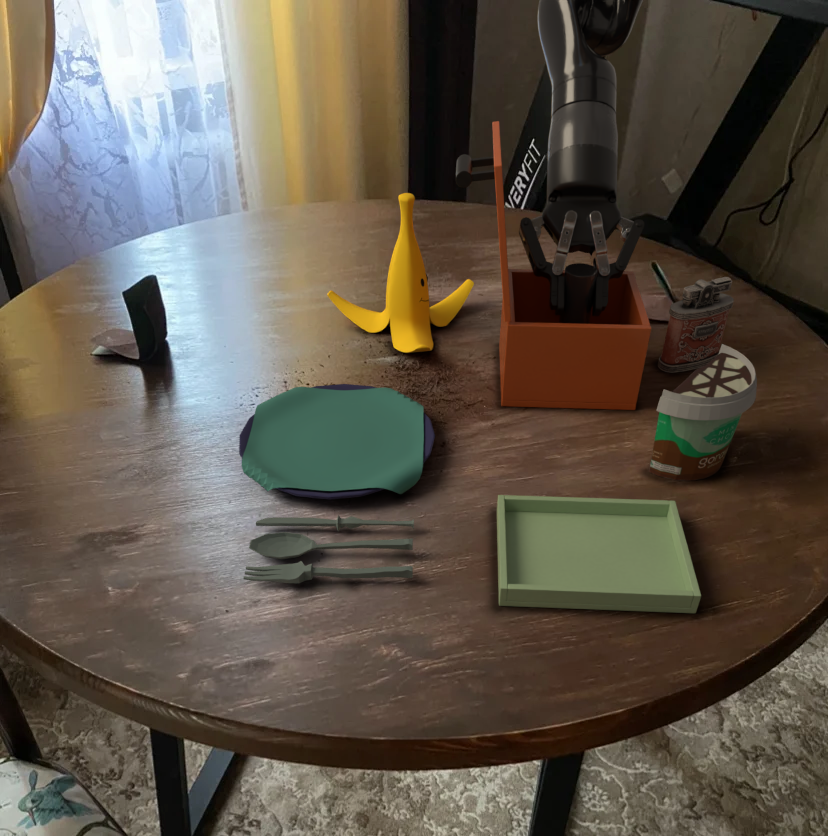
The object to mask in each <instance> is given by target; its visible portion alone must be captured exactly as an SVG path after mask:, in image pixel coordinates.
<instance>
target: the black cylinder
mask: <svg viewBox="0 0 828 836" xmlns="http://www.w3.org/2000/svg"><path fill="white" fill-rule="evenodd" d="M564 270H565V274H564V276H565V289H564V311H563V314H562V315H560V317H559V323H574V324H590V318H591V311H592V304H593V297H594V290H595V283H596V276H597V269H596V268H595V267H594V266H592V264H588V263H582V262H575V263H570V264H568V265H567V266H565V267H564Z"/></svg>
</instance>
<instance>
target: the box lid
mask: <svg viewBox="0 0 828 836" xmlns="http://www.w3.org/2000/svg"><path fill="white" fill-rule="evenodd" d="M500 125H501V124H500V121H499V120H497V121H492V146H493V155H489V156H483V157H475V158H474V157H473V158H472V157H471V155H469V154H465V153H463V154H460V155H458V156H459V157H457V159H456V167H455V183H456V185H457V186H458V187H460V188H462V189H465V188H468V187H470V186H471V185H472V182H480V181H481V182H483V181H489V180H494V184H495V201H496V215H497V230H498V247H499V262H500V277H501V278H500V279H501V291H502V299H503V308H504V321H505V322H506V321H511V308H510V292H509V275H508V269H509V262H508V261H509V259H508V245H507V244H508V243H507V227H506V212H505V209H506V208H505V194H504V178H503V162H502V161H503V160H502V143H501V126H500ZM490 166H491V167H492V166H493V168H494V169H487V170H478V171H473V168H480V167H490Z"/></svg>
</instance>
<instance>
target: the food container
mask: <svg viewBox="0 0 828 836" xmlns="http://www.w3.org/2000/svg"><path fill="white" fill-rule="evenodd" d="M719 350H720V352H719V354H718V355H717V356H716V357H715V358H714V359H713V360H711V361H710V362H709V363H707V364H706V365H704V366H702V367H700V368H697V369H694V371H693V372H692V373H691V374H689V375H688V376H687V377H686V378H685V379H684V381H682V382H681V383H680V384H679V385H678V386H676V388H674V389H673V390H672V391H670V390H667V389H666V388H665V389H662V390H663V391H662V393H661V396H660V398H659V401H658V404H657V407H656V412H658V417H657V423H656V429H655V435H654V441H653V446H652V451H651V459H650V463H649V469H648V473H649V474H651V475H654V476H657V477H658V478H659V477H660V478H664V479H669V480H674V481H688V482H689V481H690V482H692V481H696V480H703V479H706V478H709V477H711V476H713V475H714V474H716V473H717V472H718V471H720V469H721V467H722V465H723V463H724V460H725V457H726V455H727V452H728V450H729V448H730V445H731V443H732V440H733V437H734V435H735V433H736V430H737V428H738V425H739V423H740V420H741V417H742V415H743V413H745V412H746V411H747V410H749V409H750V408H751V407H752V406H753V404H754V403H755V401H756V399H757V386H758V378H757V374H756V369H755V366H754V365H753V362H751V361H750V360H749V358H747V356H745V355H744V354H743V353H741V352H740V351H738V350H736V349H735V348H733V347H731V346H728V345H726V344H723V343H721V344H720V348H719Z"/></svg>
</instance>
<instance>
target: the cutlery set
mask: <svg viewBox="0 0 828 836" xmlns="http://www.w3.org/2000/svg"><path fill="white" fill-rule="evenodd" d="M435 438H436V434H435V431H434V427H433V423H432V420H431V418H430V417H429V416H428V415H427V414H426V412H425V411H424V405H422V404H421V403H420V402H418V401H416V400H414V399H412V398H410V397H408V396H407V395H405V394H403V393H401V392H400V391H398V390H395V389H394V388H391V387H376V386H372V385H364V384H363V385H361V384H350V383H339V384H338V383H337V384H326V385H316V386H312V387H310V386H296V387H293V388H289V390H286V391H284V392H281V393H279V394H276V395H275V396H272V397H270V398H269V399H267V400H265V401H263V402H261V403H259V404H257V405H256V407H255V411H254V414H253V415H251V416H250V417H249V418H248V420H247V421H246V423H245V425H244V426H243V428H242V430H241V432H240V434H239V441H238V442H239V444H238V451H239V452H238V454H239V456H240V458H241V469H242V472H243V474H244V475H245V476H246V477H248V478H249V479H252V480H253V481H254V482H256V483H257V484H258V485H260V486H261V487H263V489H264V490H265V491H266V492H269V491H270V490H273V489H275V490H278V491H280V492H283V493H286V494H290V495H292V496H295V497H301V498H309V499H311V498H312V499H321V500H338V499H339V500H340V499H348V498H359V497H364V496H368V495H370V494H371V495H372V494H375V493H377V492H380V491H384V490H388V491H391V492H394V493H397V494H398V495H403V494H405V493H406V492H407V491H409V490H410V489H412V488H413V487H414V486H415V485H416V484H417V483H418V481H419V480H420V479H421V476H422V474H423V468H424V464H425V463H426V461H427V460H428V459H429V458H430V457H431V453H432V449H433V446H434V442H435ZM255 526H256V527H334V528H335V527H336V530H337V532H338V533H339V532H340V530H341V529H342V528H348V529H350V530H352V529H356V528H360V527H362V526H394V527H395V526H396V527H397V526H398V527H411V528H412V530H414V529H415V519H412V520H395V521H394V520H379V519H362V518H358V517H355V516H352V515H351V516H348V517H346V518H345V517H341V516H340V515H339V514H338V515H337V518H336V519H331V518H321V517H297V516H295V517H294V516H291V517H289V516H288V517H286V516H285V517H284V516H283V517H279V516H278V517H277V516H275V517H273V516H272V517H266V518H262V519H259V520H257V521H255ZM413 541H414V539H413V538H396V539H395V538H393V539H368V540H367V539H364V540H353V541H342V542H341V541H339V542H327V543H316V541H314V540H313V539H312V538H310V537H308V536H306V535H305V534H303V533H296V532H289V531H287V532H286V531H281V532H272V533H265V534H262V535H259V536H257V537H255V538H253V539H250V542H249V544H248V545H249V546H248V549H249V550H251V551H253V552H255V553H257V554H259V555H261V556H263V557H265V558H270V559H278V560H287V559H293V558H299V557H301V556H302V555H305V554H307V553H309V552H312V551H317V550H332V549H333V550H349V549H375V550H376V549H377V550H380V549H382V550H404V551H413V550H414V548H413V545H414V542H413ZM413 573H414V572H413V565H403V566H379V567H360V568H338V567H317V566H314V565H313V563H310V564H307V565H305V564H304V563H303V561H302V560H300V561H298V562H295V563H284V564H274V565H264V566H245V571H244V576H243V581H244V580H246V581H252V582H273V583H274V582H275V583H284V584H285V583H286V584H301V583H303V582H306V581H310V580H313V578H314V577H325V578H327V577H328V578H338V579H381V578H382V579H383V578H401V579H413V576H414V575H413Z"/></svg>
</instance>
